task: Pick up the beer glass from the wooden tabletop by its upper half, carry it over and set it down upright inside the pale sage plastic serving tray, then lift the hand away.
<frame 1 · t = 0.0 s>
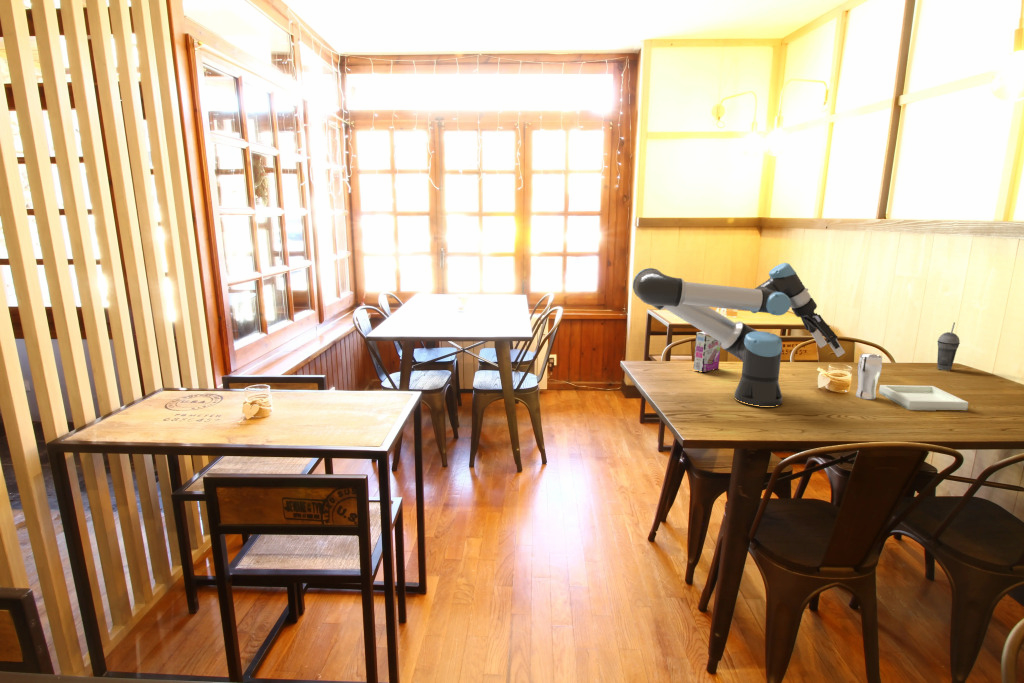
hand: (832, 350, 201), 15 cm above the table, tool tilted 35°, fingers open, 13 cm apart
tray: (920, 401, 192), on the table
beer glass: (865, 397, 198), on the table
candy bar box: (706, 370, 233), on the table
beverage cup: (943, 370, 231), on the table
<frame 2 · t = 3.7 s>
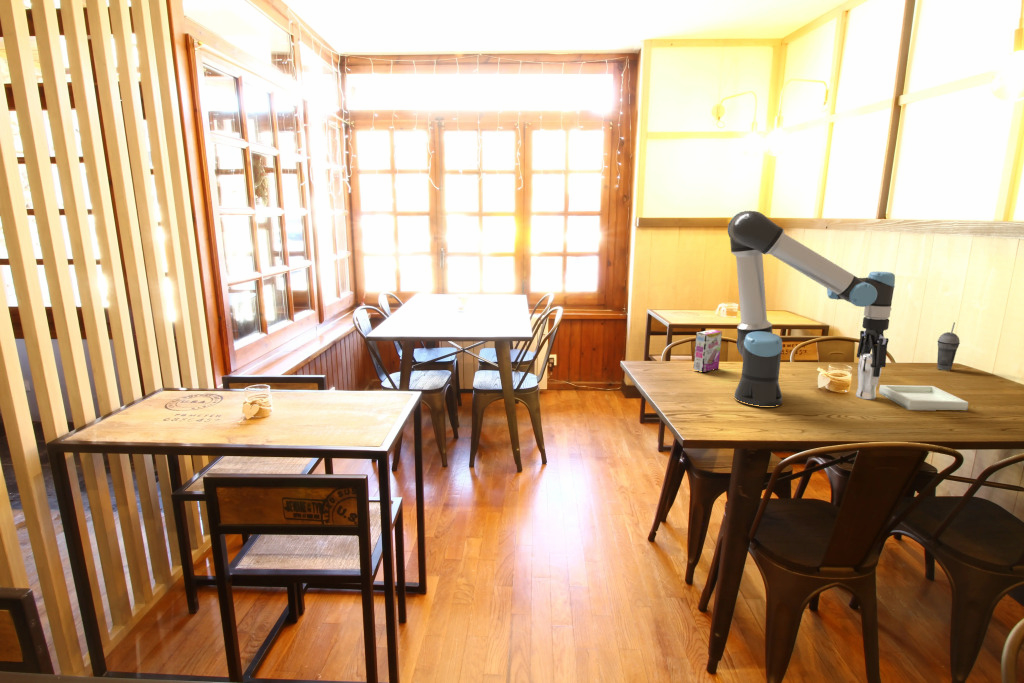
hand: (867, 381, 196), 6 cm above the table, tool pointing down, fingers closed on beer glass, 7 cm apart
beer glass: (865, 397, 198), on the table, touching gripper
everything else where it was.
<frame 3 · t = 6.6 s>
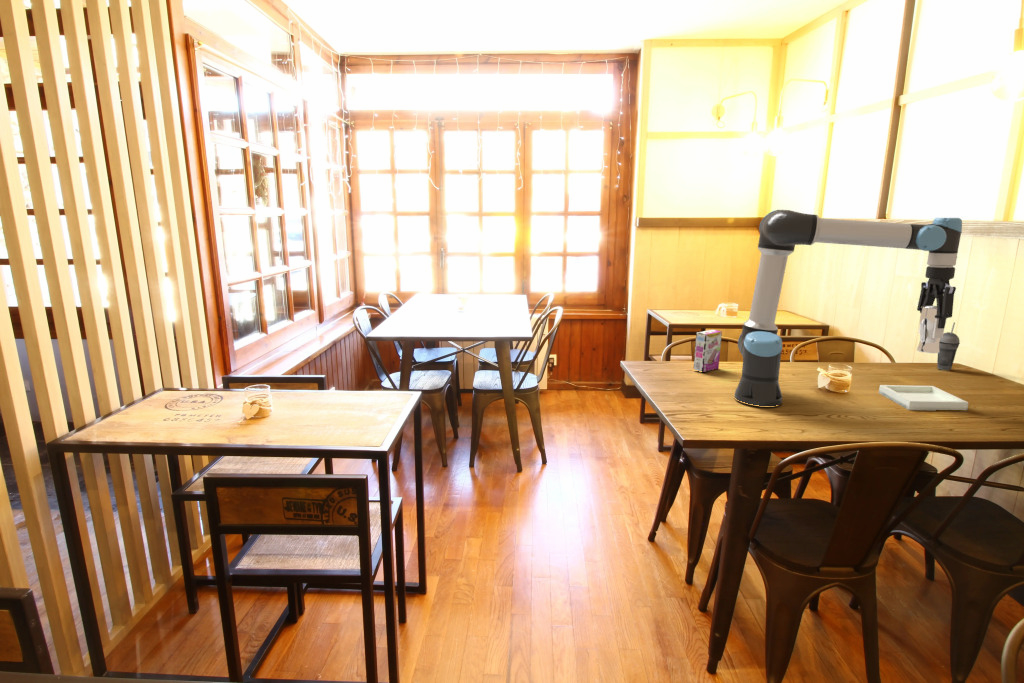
hand: (930, 335, 187), 23 cm above the table, tool pointing down, fingers closed on beer glass, 7 cm apart
beer glass: (927, 351, 189), point 18 cm above the table, touching gripper
everything else where it was.
when the fingers open (8 cm above the table, at t = 9.6 s): beer glass drops 1 cm, resting on tray.
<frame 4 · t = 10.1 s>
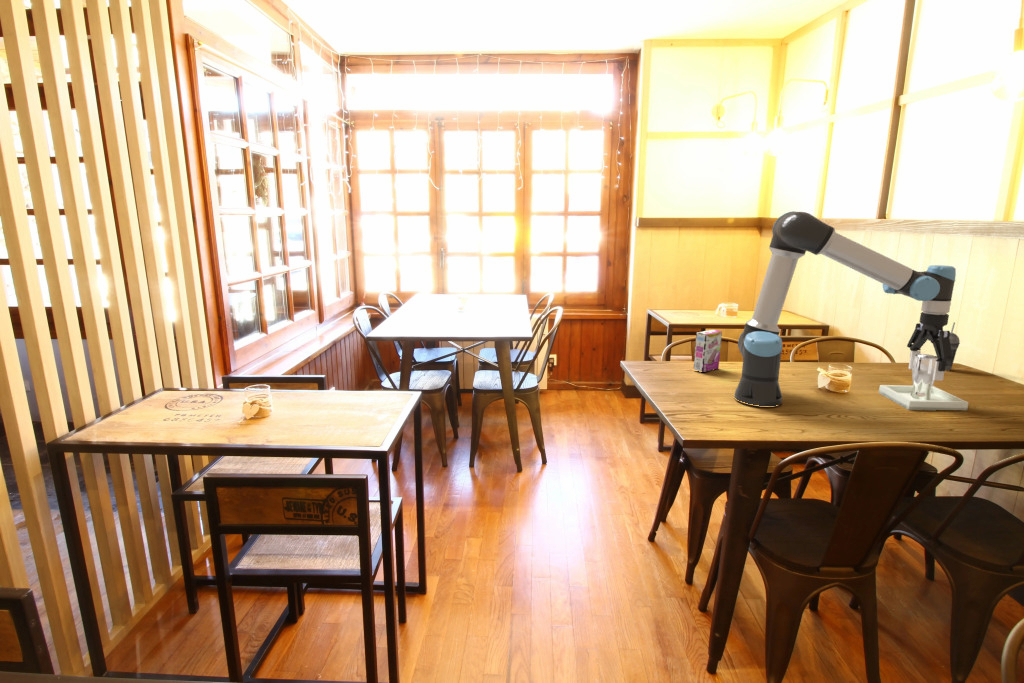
hand: (925, 374, 190), 10 cm above the table, tool pointing down, fingers open, 13 cm apart
beer glass: (920, 399, 192), point 1 cm above the table, touching tray
everything else where it was.
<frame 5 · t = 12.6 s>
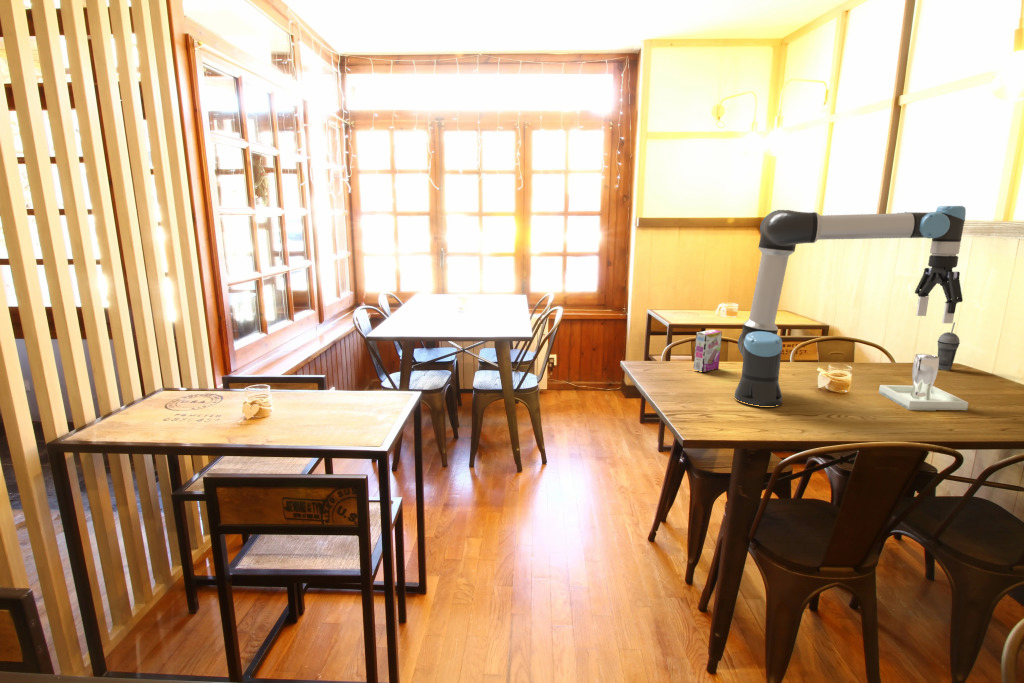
hand: (933, 319, 186), 29 cm above the table, tool pointing down, fingers open, 13 cm apart
nothing on the table moved.
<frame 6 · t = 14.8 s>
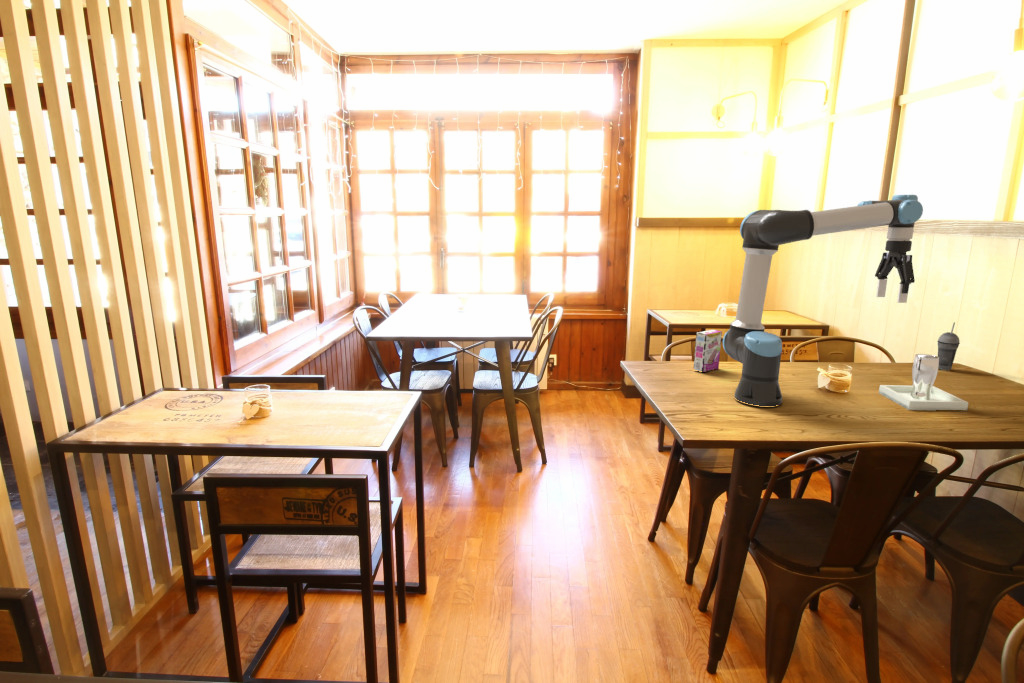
hand: (890, 299, 202), 33 cm above the table, tool pointing down, fingers open, 13 cm apart
nothing on the table moved.
at the end: beer glass inside the target area on the tray (0.3 cm from its centre), point 0.8 cm above the tray's base; beer glass tilted 0°; the gripper is holding nothing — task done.
